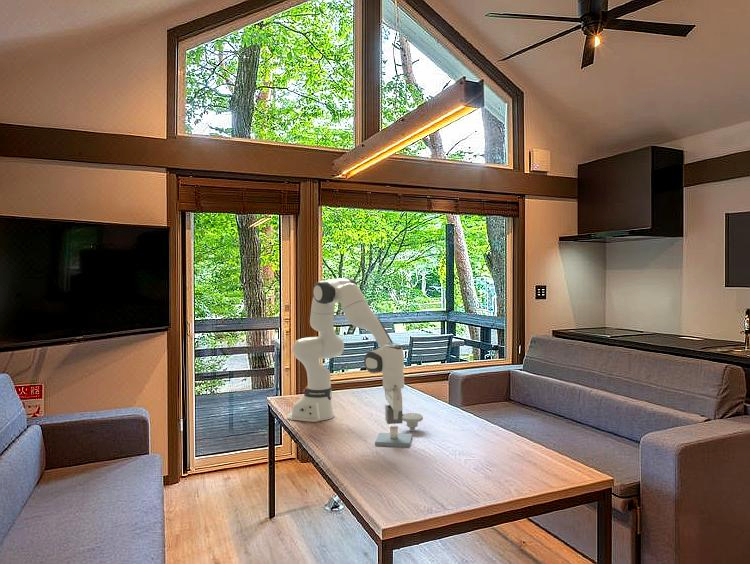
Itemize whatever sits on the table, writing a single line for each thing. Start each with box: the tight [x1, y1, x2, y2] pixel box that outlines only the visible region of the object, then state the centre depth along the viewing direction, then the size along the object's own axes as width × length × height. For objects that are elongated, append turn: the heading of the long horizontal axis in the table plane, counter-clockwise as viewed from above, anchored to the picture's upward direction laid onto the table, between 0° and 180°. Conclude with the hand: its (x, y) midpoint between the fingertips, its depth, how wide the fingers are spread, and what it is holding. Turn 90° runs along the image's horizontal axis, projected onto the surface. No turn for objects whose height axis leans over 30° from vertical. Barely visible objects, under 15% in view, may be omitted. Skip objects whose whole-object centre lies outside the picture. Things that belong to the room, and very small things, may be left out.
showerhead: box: [402, 412, 424, 432], centre depth 231 cm, size 9×7×10 cm
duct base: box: [374, 425, 413, 448], centre depth 216 cm, size 14×12×6 cm
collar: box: [384, 404, 403, 425], centre depth 216 cm, size 6×6×6 cm
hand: (393, 416), depth 216 cm, fingers closed on collar, 6 cm apart
